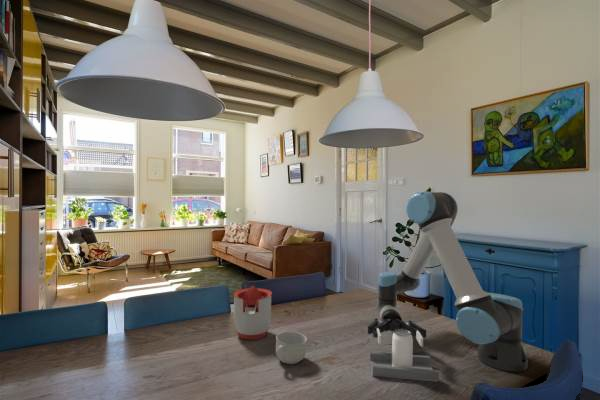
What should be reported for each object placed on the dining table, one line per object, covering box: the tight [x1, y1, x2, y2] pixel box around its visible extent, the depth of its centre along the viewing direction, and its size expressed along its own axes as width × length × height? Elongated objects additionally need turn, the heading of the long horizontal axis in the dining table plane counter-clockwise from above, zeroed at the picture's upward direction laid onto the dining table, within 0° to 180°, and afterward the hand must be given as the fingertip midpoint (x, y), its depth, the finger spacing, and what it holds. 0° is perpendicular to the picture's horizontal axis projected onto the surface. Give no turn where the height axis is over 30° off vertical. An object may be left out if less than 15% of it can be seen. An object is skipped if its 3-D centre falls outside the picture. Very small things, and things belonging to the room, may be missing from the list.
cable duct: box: [369, 351, 440, 383], centre depth 108 cm, size 20×10×3 cm, turn 83°
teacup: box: [275, 331, 308, 365], centre depth 113 cm, size 14×11×8 cm
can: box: [391, 329, 414, 368], centre depth 108 cm, size 6×6×12 cm
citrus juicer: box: [233, 285, 273, 340], centre depth 134 cm, size 16×17×20 cm
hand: (400, 341), depth 109 cm, fingers open, 13 cm apart
